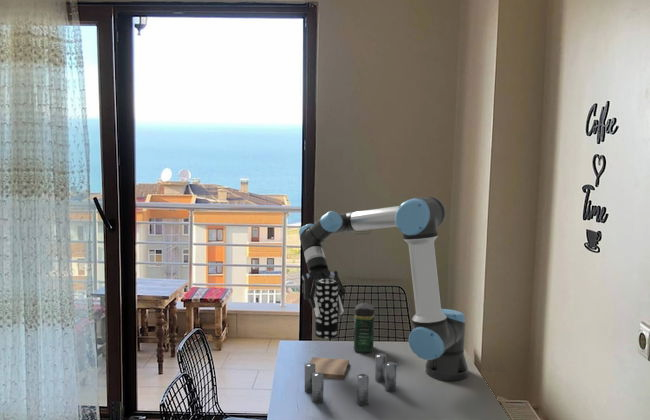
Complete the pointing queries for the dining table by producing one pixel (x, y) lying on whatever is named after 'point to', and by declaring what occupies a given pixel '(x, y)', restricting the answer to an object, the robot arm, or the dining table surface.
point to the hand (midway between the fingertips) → (330, 314)
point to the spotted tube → (327, 308)
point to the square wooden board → (331, 367)
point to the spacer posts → (316, 380)
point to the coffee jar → (364, 328)
